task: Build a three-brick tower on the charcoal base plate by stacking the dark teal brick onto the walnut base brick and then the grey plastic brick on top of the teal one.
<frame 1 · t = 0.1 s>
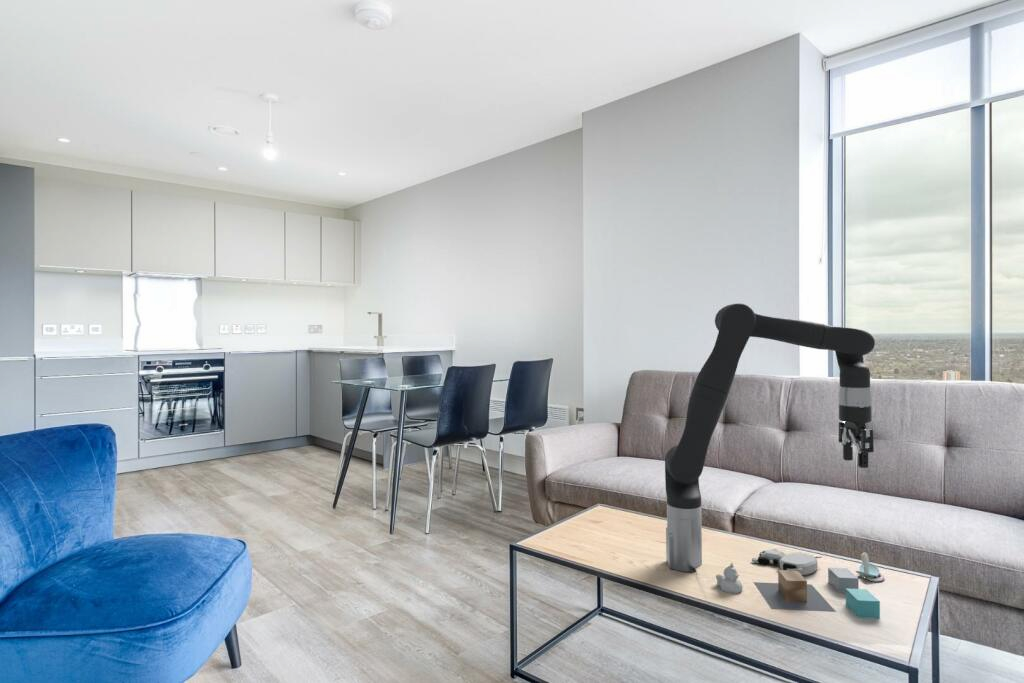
hand: (855, 463, 151), 29 cm above the table, tool pointing down, fingers open, 8 cm apart
rubber duck: (728, 593, 140), on the table
teal brick: (862, 616, 128), on the table
pacifier: (870, 578, 148), on the table
base plate: (792, 601, 136), on the table
grey brick: (843, 592, 140), on the table
base brick: (792, 596, 136), point 1 cm above the table, touching base plate
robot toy: (786, 570, 154), on the table
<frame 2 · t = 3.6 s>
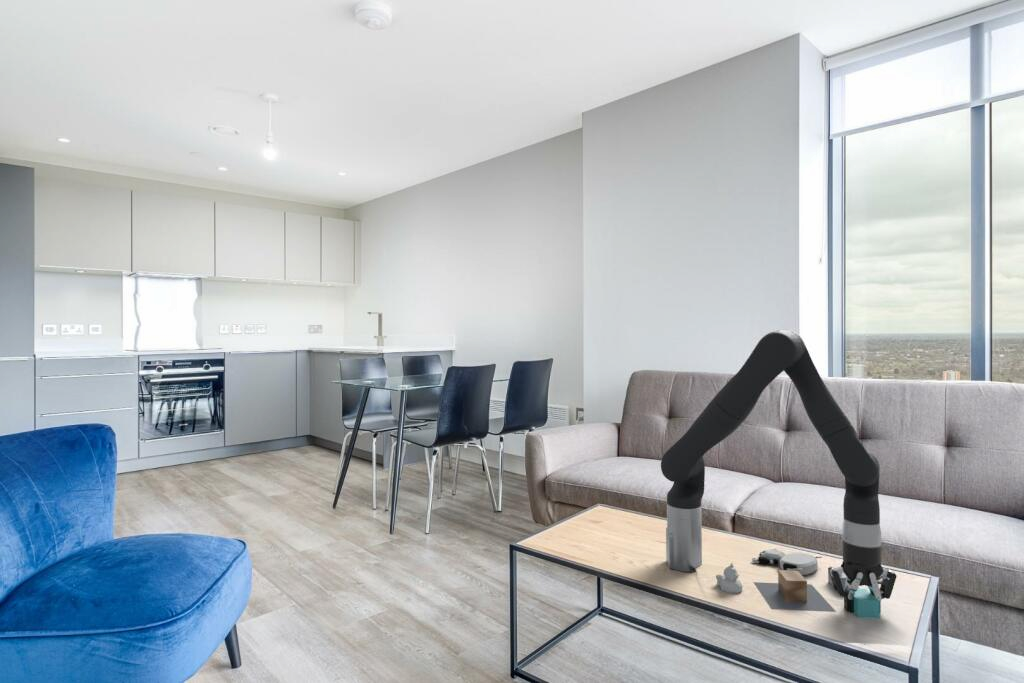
hand: (862, 614, 128), 0 cm above the table, tool pointing down, fingers closed on teal brick, 4 cm apart
teal brick: (862, 616, 128), on the table, touching gripper
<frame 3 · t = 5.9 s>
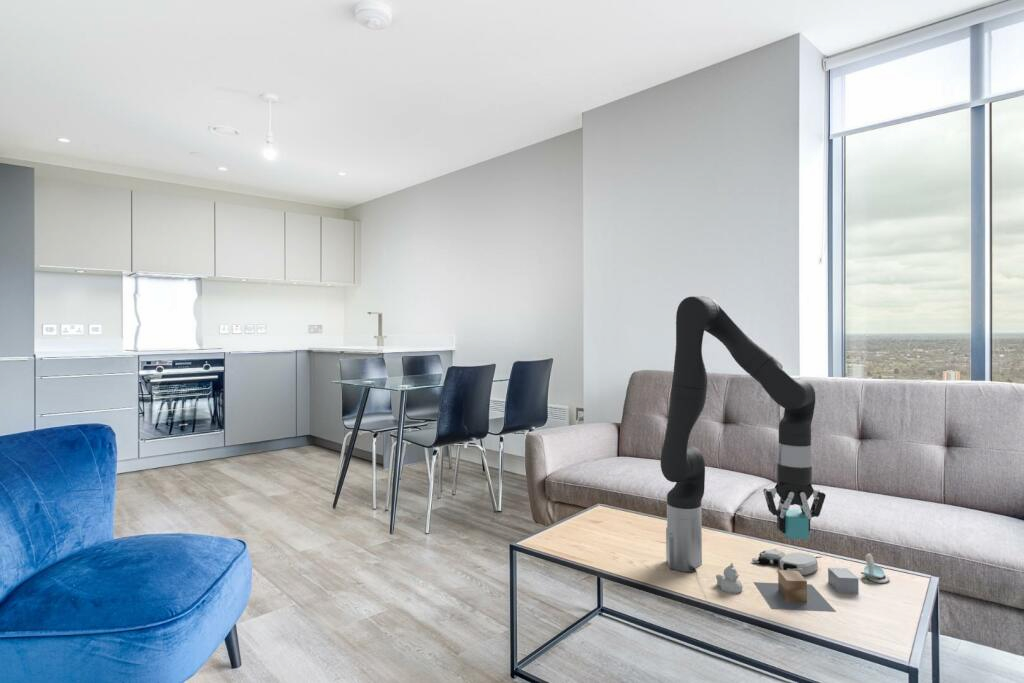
hand: (793, 532, 136), 17 cm above the table, tool pointing down, fingers closed on teal brick, 4 cm apart
teal brick: (793, 534, 136), point 16 cm above the table, touching gripper
when the fingers open (8 cm above the table, at t = 8.2 s): teal brick drops 1 cm, resting on base brick.
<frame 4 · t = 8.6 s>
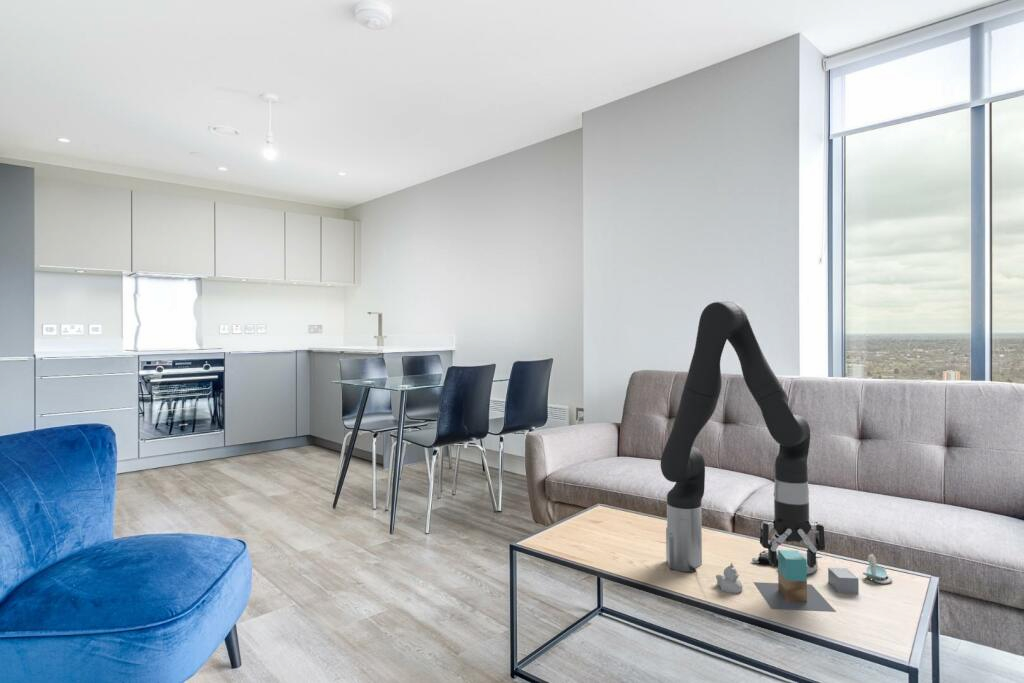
hand: (792, 565, 136), 9 cm above the table, tool pointing down, fingers open, 8 cm apart
teal brick: (792, 575, 136), point 6 cm above the table, touching base brick
base brick: (792, 596, 136), point 1 cm above the table, touching base plate, teal brick
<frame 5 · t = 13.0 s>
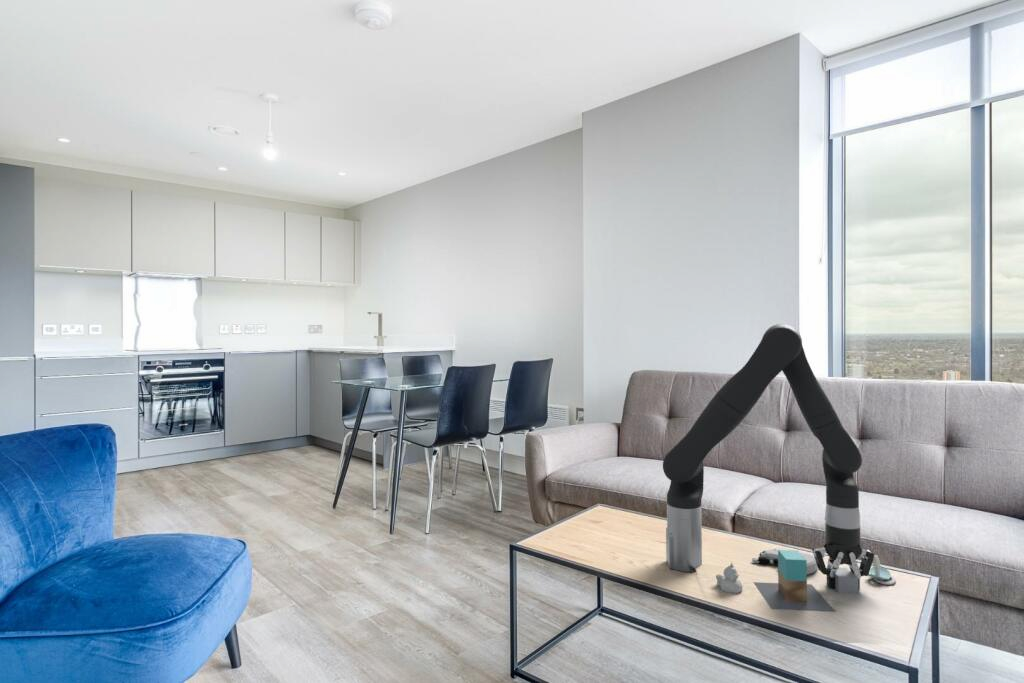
hand: (843, 590, 140), 0 cm above the table, tool pointing down, fingers closed on grey brick, 4 cm apart
grey brick: (843, 592, 140), on the table, touching gripper
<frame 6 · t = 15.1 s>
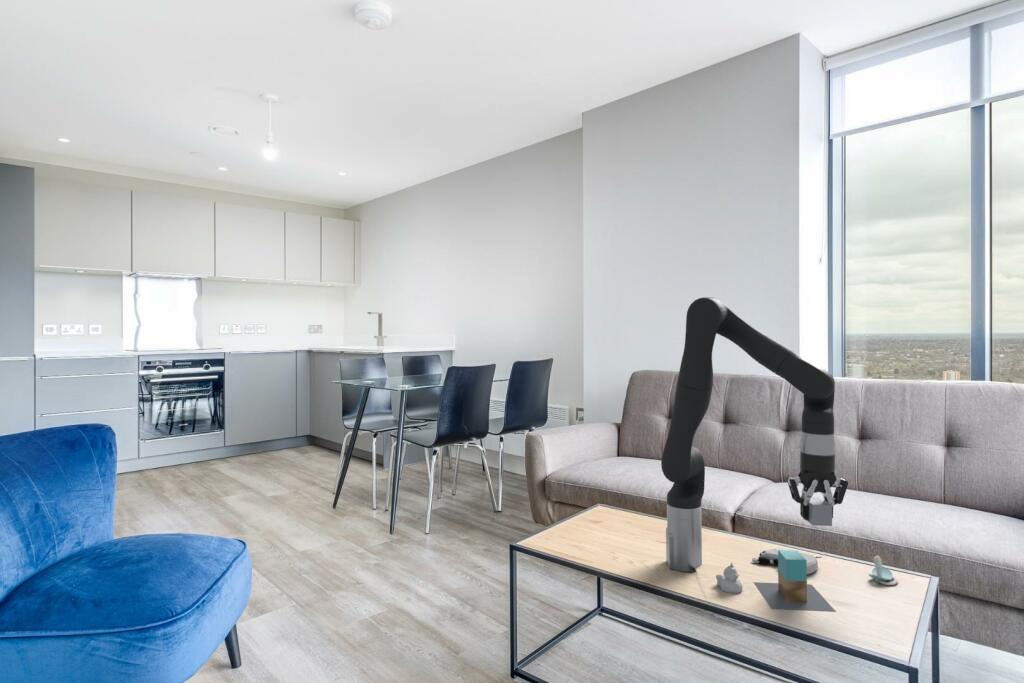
hand: (816, 519, 138), 19 cm above the table, tool pointing down, fingers closed on grey brick, 4 cm apart
grey brick: (816, 521, 138), point 18 cm above the table, touching gripper
when the fingers open (13 cm above the table, at t = 17.2 s): grey brick drops 1 cm, resting on teal brick.
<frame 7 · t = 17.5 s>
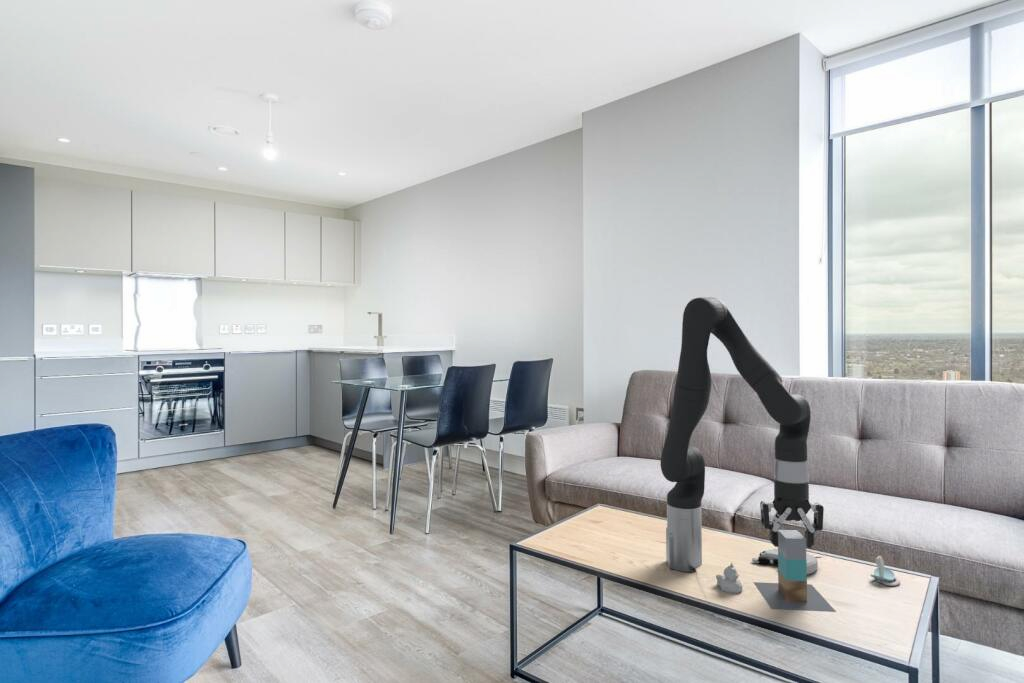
hand: (791, 546, 136), 13 cm above the table, tool pointing down, fingers open, 7 cm apart
teal brick: (792, 575, 136), point 6 cm above the table, touching base brick, grey brick
grey brick: (791, 554, 135), point 11 cm above the table, touching teal brick
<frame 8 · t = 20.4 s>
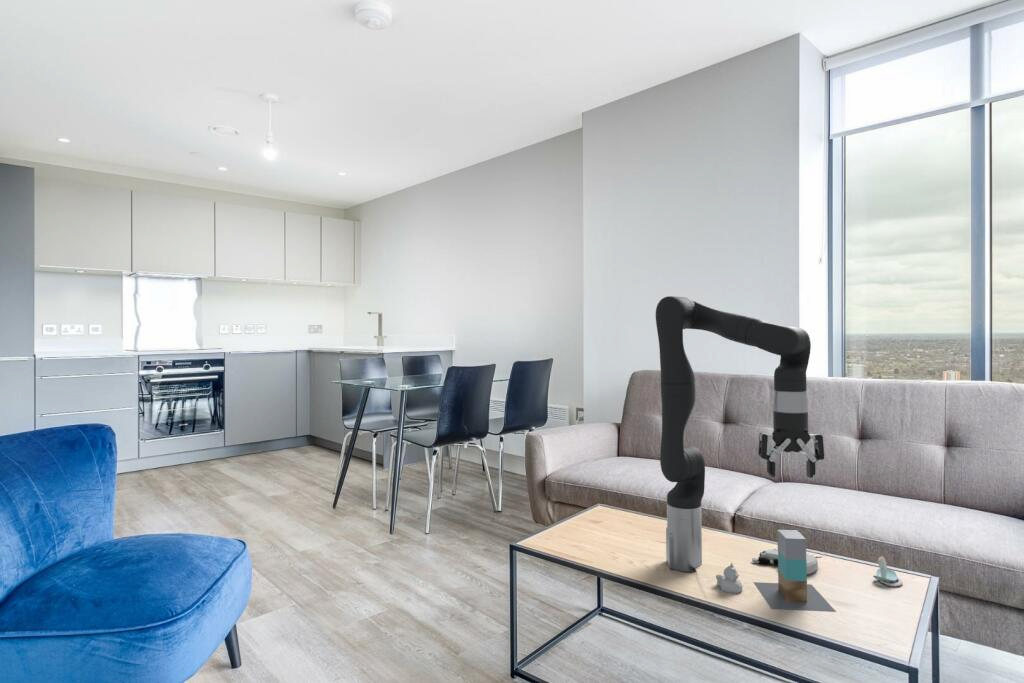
hand: (791, 476, 135), 30 cm above the table, tool pointing down, fingers open, 8 cm apart
at the end: teal brick 0.0 cm off-centre on the base brick, point 5.0 cm above the base brick's base; grey brick 0.1 cm off-centre on the teal brick, point 5.0 cm above the teal brick's base; grey brick tilted 0° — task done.
